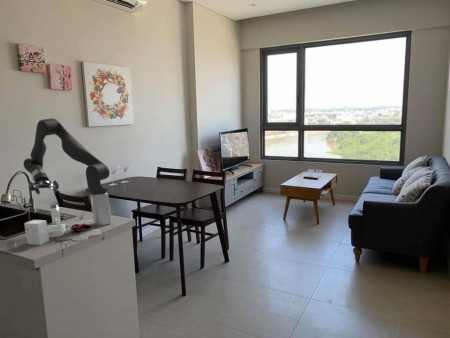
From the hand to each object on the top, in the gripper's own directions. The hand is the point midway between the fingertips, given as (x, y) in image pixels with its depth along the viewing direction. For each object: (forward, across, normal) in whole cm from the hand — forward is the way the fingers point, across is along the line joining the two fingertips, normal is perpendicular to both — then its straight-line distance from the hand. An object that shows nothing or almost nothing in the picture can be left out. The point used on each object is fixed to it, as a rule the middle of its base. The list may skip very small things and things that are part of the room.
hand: (47, 192), depth 191 cm
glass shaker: (+14, +3, +13) cm, 20 cm away
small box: (+33, -12, +6) cm, 36 cm away
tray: (+25, -3, +9) cm, 27 cm away
